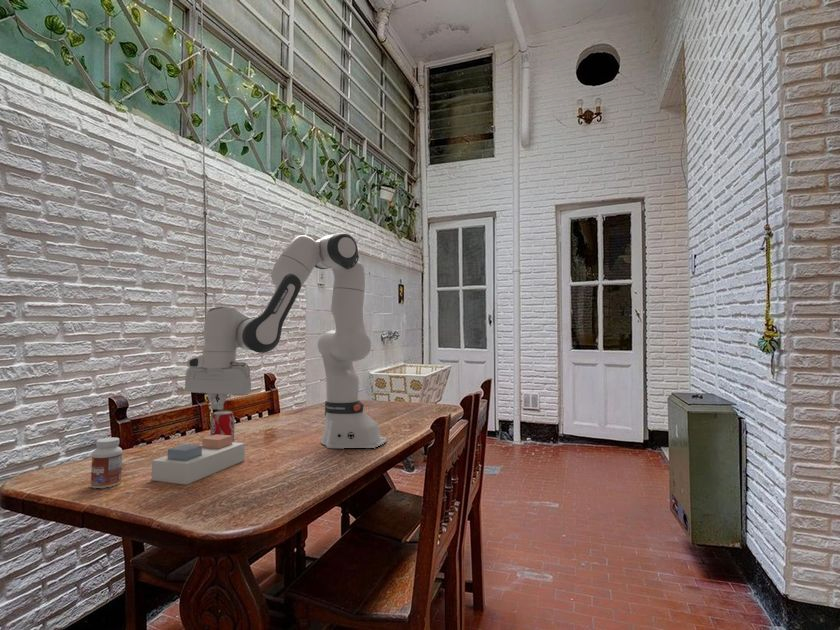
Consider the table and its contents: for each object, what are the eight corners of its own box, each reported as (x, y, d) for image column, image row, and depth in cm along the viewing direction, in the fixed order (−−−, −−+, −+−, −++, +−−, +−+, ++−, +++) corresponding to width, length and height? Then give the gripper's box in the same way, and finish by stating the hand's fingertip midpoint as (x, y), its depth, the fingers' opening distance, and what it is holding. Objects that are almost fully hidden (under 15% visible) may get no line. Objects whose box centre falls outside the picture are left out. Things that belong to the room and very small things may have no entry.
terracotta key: (231, 449, 130) (232, 435, 130) (218, 454, 125) (218, 440, 125) (215, 448, 132) (216, 434, 132) (201, 452, 126) (202, 438, 127)
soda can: (227, 452, 140) (228, 414, 140) (205, 452, 140) (206, 414, 140) (237, 447, 147) (238, 410, 147) (216, 446, 147) (217, 410, 147)
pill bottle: (84, 487, 108) (86, 440, 108) (110, 479, 114) (112, 435, 114) (100, 490, 106) (102, 443, 106) (126, 483, 111) (128, 438, 112)
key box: (244, 460, 132) (244, 443, 132) (186, 484, 110) (187, 464, 111) (213, 457, 134) (213, 440, 135) (151, 480, 113) (151, 460, 114)
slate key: (201, 460, 119) (201, 445, 119) (185, 466, 113) (185, 450, 114) (184, 458, 120) (184, 443, 120) (167, 464, 115) (167, 449, 115)
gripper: (256, 362, 130) (254, 410, 129) (198, 359, 135) (196, 405, 134) (242, 363, 124) (240, 413, 123) (182, 360, 129) (179, 408, 128)
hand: (216, 409), depth 129 cm, fingers closed
